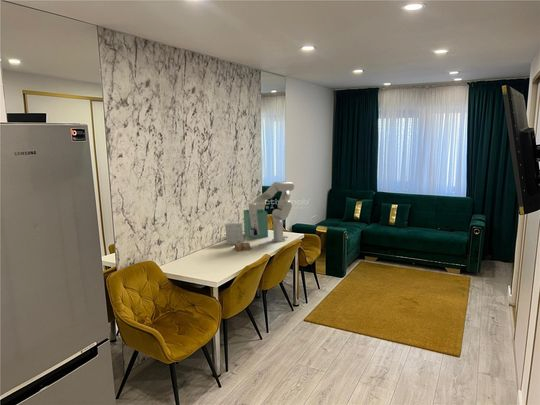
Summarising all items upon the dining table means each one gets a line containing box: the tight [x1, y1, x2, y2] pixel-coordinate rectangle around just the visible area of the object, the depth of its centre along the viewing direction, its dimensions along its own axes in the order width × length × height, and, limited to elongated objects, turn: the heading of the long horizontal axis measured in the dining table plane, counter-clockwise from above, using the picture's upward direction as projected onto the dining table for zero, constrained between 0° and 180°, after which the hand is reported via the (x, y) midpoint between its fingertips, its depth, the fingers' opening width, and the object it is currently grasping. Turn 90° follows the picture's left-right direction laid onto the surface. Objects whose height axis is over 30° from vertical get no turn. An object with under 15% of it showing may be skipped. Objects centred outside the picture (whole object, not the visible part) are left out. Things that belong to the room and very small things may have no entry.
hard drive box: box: [225, 222, 244, 245], centre depth 375 cm, size 16×8×20 cm, turn 84°
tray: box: [234, 242, 251, 252], centre depth 356 cm, size 12×12×4 cm
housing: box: [250, 228, 260, 236], centre depth 365 cm, size 8×5×7 cm, turn 106°
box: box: [243, 209, 269, 240], centre depth 403 cm, size 23×21×26 cm
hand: (254, 234), depth 365 cm, fingers closed on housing, 5 cm apart
